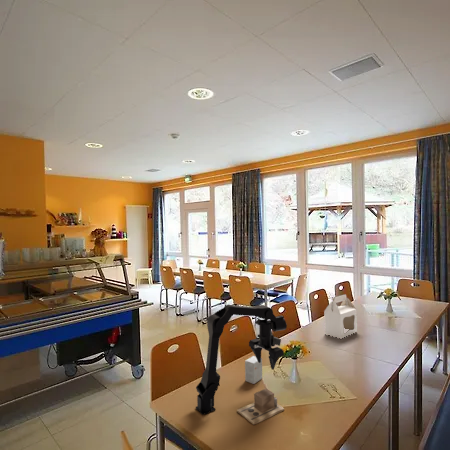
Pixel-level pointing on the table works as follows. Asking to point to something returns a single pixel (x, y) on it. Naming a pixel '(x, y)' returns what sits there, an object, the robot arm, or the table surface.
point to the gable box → (340, 317)
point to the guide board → (256, 415)
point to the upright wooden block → (264, 400)
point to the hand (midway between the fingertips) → (266, 365)
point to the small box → (253, 370)
